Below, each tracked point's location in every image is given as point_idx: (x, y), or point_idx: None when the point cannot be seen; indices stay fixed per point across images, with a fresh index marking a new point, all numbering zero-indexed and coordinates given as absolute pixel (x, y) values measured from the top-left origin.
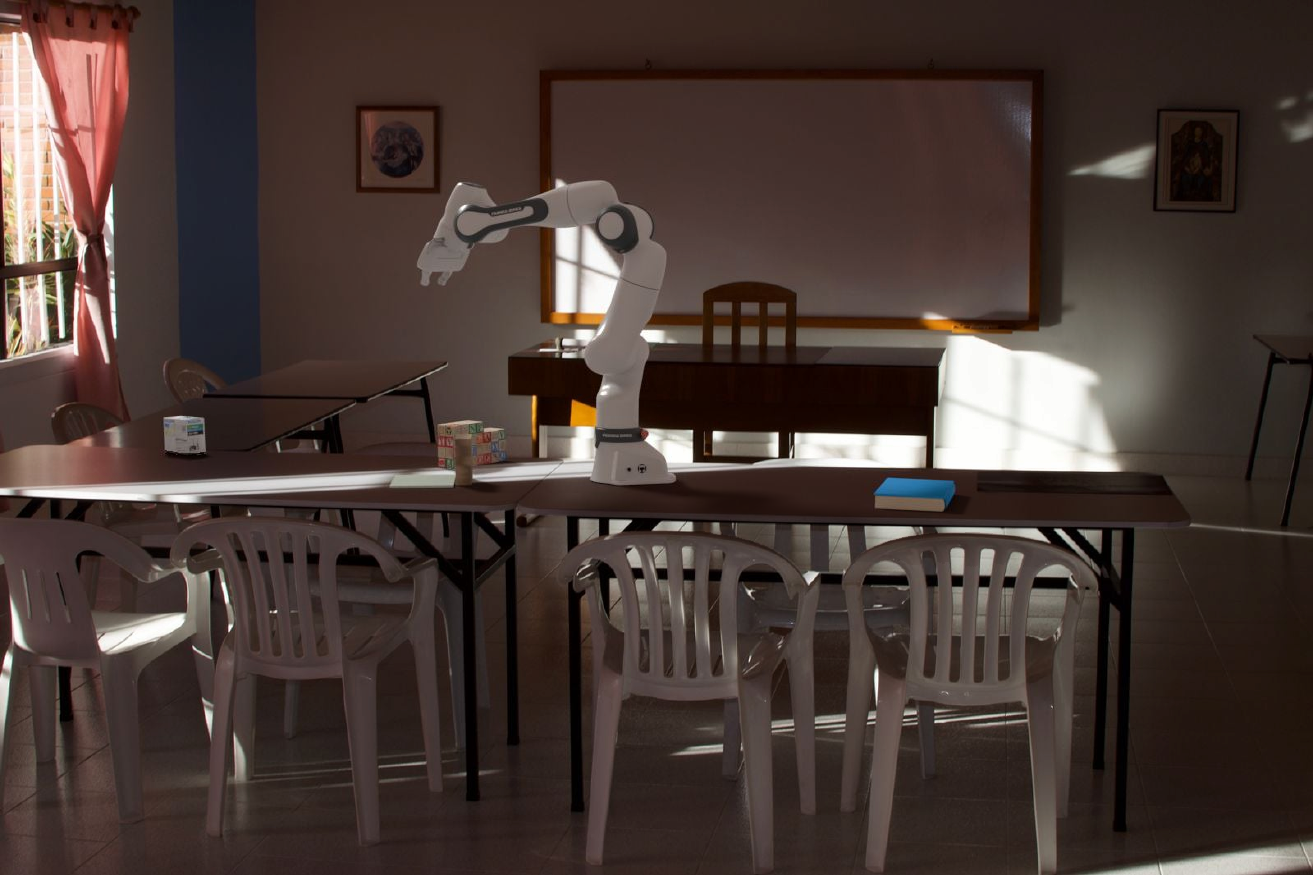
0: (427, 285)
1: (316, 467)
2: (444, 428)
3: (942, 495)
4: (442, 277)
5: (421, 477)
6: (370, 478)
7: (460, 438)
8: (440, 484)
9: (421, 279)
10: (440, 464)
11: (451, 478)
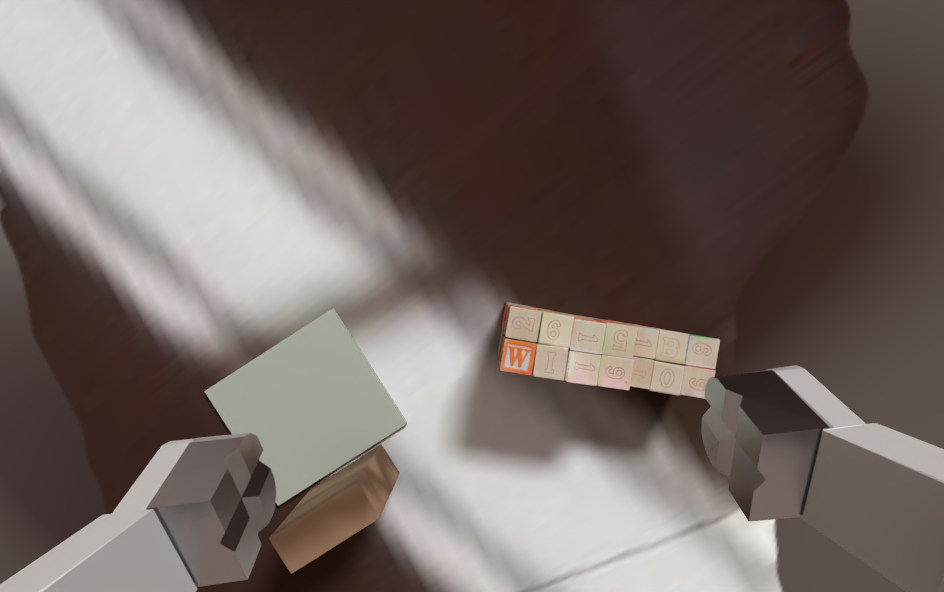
0: (270, 498)
1: (365, 51)
2: (505, 333)
3: None
4: (824, 461)
5: (332, 381)
6: (295, 268)
7: (285, 544)
8: (273, 475)
9: (133, 484)
10: (504, 310)
11: (352, 449)
